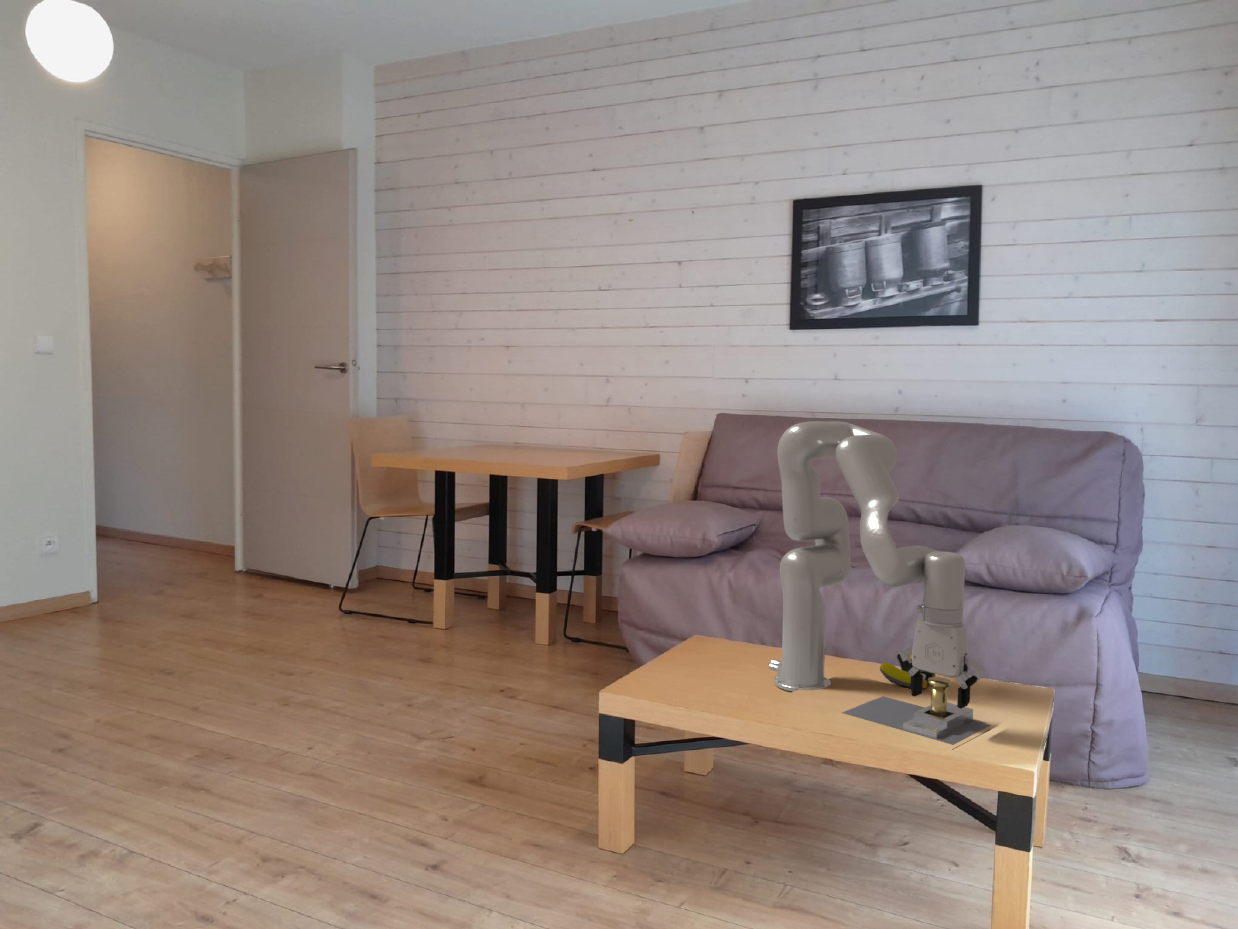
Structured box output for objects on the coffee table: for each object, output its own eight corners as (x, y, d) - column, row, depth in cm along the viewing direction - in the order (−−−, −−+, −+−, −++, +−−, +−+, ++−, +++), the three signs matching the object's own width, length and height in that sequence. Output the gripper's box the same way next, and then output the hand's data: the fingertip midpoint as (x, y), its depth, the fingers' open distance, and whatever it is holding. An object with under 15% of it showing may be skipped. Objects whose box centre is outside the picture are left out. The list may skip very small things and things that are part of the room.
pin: (922, 724, 188) (923, 680, 187) (932, 719, 191) (934, 675, 190) (943, 730, 184) (944, 685, 184) (953, 725, 187) (955, 680, 187)
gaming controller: (876, 687, 216) (920, 695, 210) (877, 663, 215) (921, 671, 209) (899, 672, 228) (941, 679, 222) (899, 649, 227) (942, 656, 221)
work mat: (841, 717, 194) (841, 712, 194) (882, 700, 205) (882, 696, 205) (952, 749, 177) (952, 744, 177) (990, 729, 188) (990, 724, 188)
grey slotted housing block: (902, 729, 185) (903, 717, 185) (940, 712, 195) (940, 700, 195) (936, 739, 180) (936, 726, 180) (972, 720, 190) (973, 709, 190)
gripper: (892, 610, 189) (889, 694, 191) (976, 626, 177) (972, 716, 178) (911, 605, 195) (908, 687, 196) (994, 620, 182) (990, 707, 184)
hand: (939, 700), depth 187 cm, fingers open, 9 cm apart
